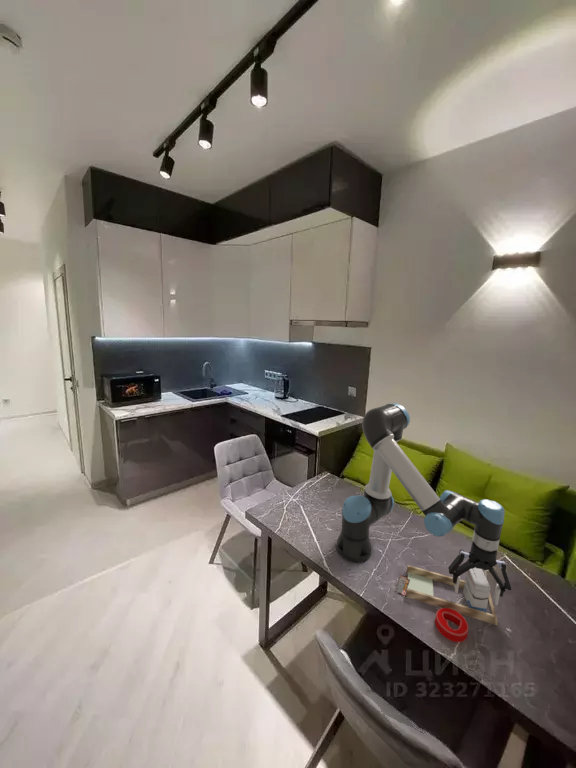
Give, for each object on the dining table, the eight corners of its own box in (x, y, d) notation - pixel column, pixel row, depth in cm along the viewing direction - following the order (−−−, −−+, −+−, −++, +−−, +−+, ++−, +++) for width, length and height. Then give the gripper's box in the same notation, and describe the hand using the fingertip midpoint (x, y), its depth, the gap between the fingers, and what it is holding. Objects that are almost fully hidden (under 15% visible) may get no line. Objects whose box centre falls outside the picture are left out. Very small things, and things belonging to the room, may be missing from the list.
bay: (405, 596, 117) (406, 589, 116) (406, 570, 128) (407, 564, 127) (497, 625, 107) (498, 618, 106) (489, 594, 118) (490, 588, 117)
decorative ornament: (473, 634, 104) (475, 626, 103) (454, 648, 99) (455, 640, 99) (447, 609, 112) (448, 602, 111) (428, 621, 108) (429, 614, 107)
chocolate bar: (406, 600, 116) (406, 599, 115) (392, 594, 118) (393, 592, 118) (412, 579, 125) (412, 577, 124) (399, 574, 127) (399, 572, 127)
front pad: (407, 595, 117) (407, 594, 117) (407, 572, 127) (408, 572, 127) (433, 603, 114) (434, 602, 114) (432, 579, 124) (432, 579, 124)
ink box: (486, 615, 110) (491, 587, 107) (470, 612, 111) (475, 585, 108) (477, 594, 118) (482, 568, 115) (462, 592, 119) (467, 565, 116)
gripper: (447, 542, 109) (439, 593, 114) (530, 562, 101) (518, 617, 106) (445, 528, 116) (437, 577, 121) (523, 546, 108) (511, 598, 113)
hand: (475, 596), depth 114 cm, fingers open, 12 cm apart
